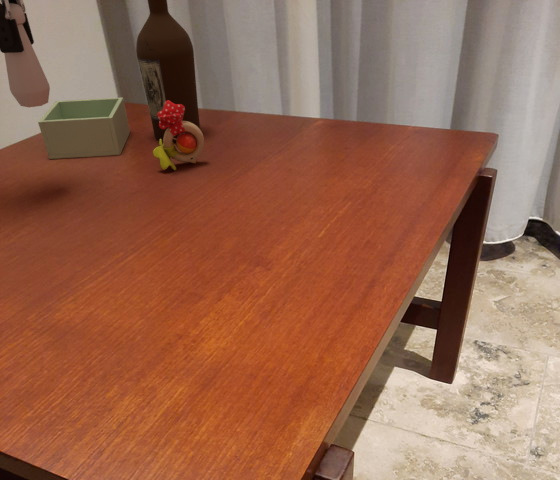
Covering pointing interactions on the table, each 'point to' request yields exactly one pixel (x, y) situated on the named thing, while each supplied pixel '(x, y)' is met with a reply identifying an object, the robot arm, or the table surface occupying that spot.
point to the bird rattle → (186, 141)
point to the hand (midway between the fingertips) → (17, 46)
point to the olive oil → (167, 66)
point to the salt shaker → (26, 69)
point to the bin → (85, 128)
